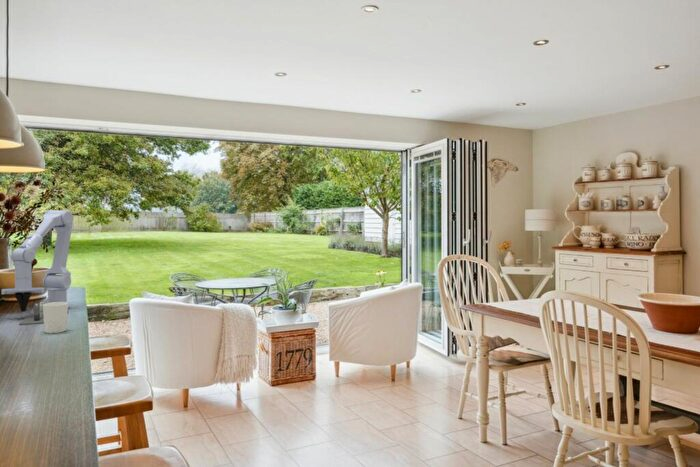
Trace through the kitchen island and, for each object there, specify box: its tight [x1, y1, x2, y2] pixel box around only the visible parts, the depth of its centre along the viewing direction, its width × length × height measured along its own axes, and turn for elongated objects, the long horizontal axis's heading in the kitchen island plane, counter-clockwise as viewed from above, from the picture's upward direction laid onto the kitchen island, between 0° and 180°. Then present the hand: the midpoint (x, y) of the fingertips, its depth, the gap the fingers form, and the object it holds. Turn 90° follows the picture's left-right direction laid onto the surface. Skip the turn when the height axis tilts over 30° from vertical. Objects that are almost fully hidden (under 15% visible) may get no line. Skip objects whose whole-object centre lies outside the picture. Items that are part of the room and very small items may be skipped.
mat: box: [18, 312, 44, 326], centre depth 204 cm, size 22×14×1 cm, turn 23°
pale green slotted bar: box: [39, 301, 46, 318], centre depth 205 cm, size 14×2×5 cm, turn 23°
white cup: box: [43, 301, 69, 334], centre depth 182 cm, size 8×8×10 cm
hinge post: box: [33, 302, 40, 321], centre depth 197 cm, size 2×2×7 cm
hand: (23, 311), depth 203 cm, fingers closed
